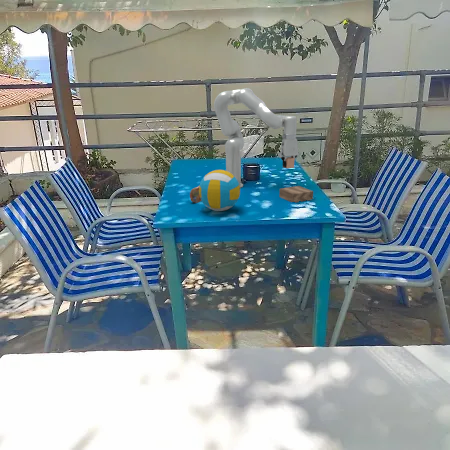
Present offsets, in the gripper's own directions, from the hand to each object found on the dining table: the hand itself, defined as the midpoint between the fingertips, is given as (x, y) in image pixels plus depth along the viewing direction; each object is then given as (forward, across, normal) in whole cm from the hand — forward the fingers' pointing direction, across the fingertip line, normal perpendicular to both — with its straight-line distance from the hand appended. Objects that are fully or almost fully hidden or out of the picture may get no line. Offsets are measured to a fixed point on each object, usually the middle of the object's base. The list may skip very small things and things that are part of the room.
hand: (288, 166), depth 257 cm
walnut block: (+15, -6, -18) cm, 24 cm away
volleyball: (+16, -56, -17) cm, 61 cm away
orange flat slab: (+16, -59, +5) cm, 61 cm away
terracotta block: (+1, 0, 0) cm, 1 cm away
